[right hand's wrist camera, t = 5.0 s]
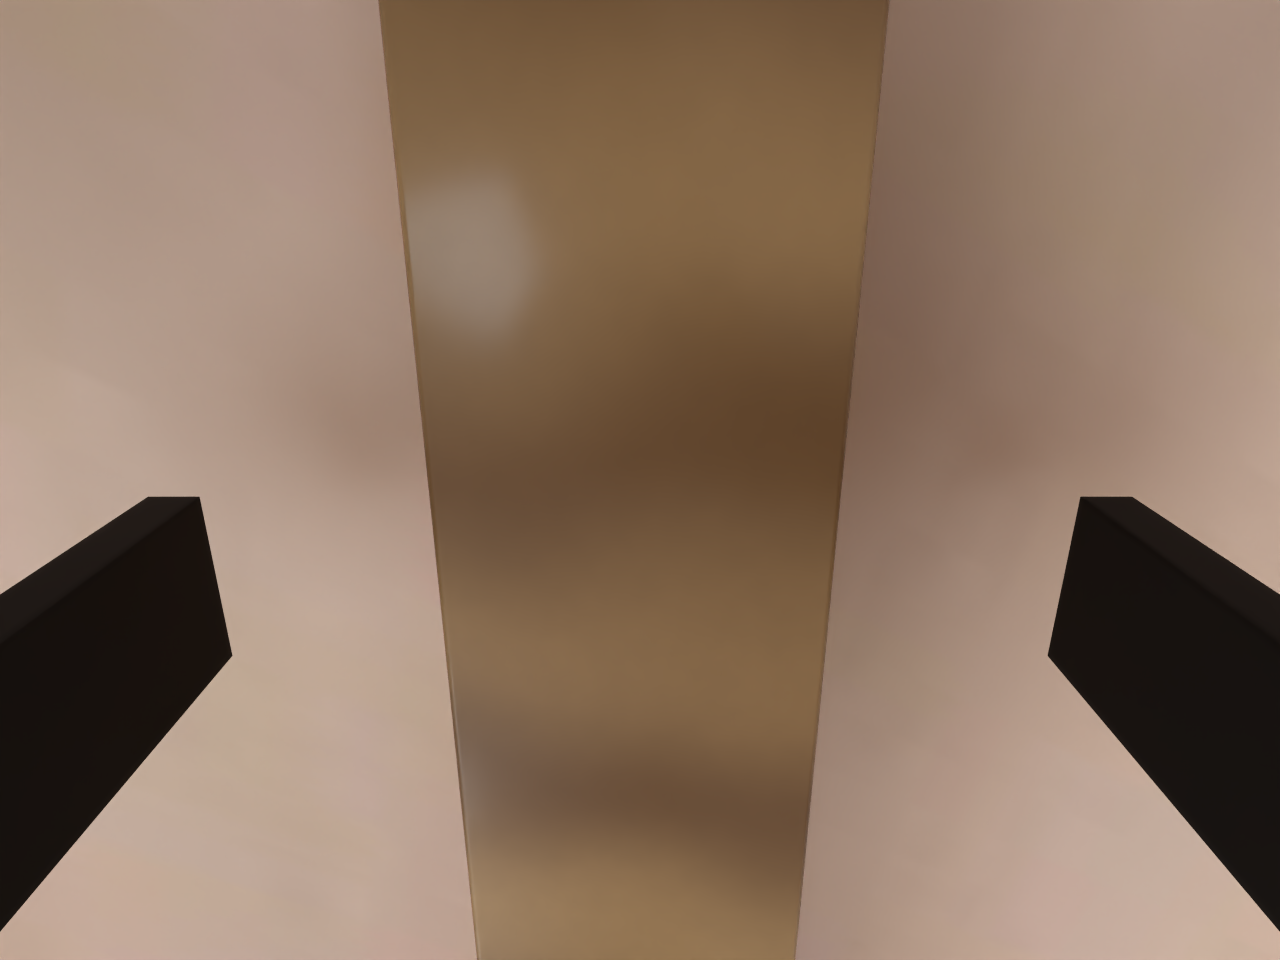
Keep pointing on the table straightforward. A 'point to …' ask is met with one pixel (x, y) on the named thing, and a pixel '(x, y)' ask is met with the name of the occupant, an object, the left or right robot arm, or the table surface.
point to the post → (634, 442)
